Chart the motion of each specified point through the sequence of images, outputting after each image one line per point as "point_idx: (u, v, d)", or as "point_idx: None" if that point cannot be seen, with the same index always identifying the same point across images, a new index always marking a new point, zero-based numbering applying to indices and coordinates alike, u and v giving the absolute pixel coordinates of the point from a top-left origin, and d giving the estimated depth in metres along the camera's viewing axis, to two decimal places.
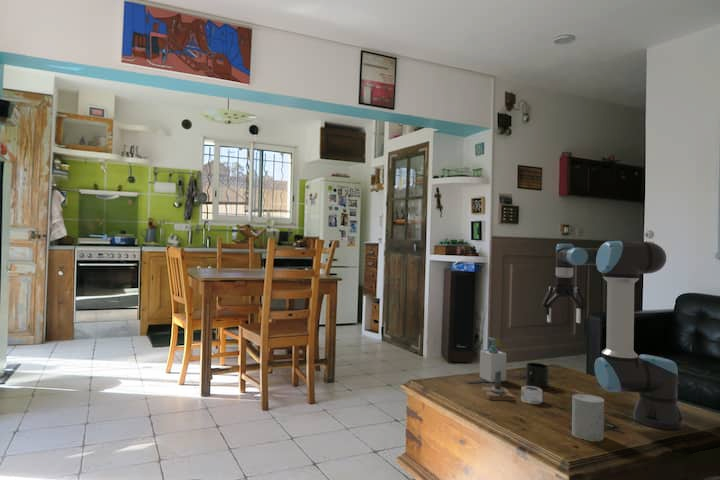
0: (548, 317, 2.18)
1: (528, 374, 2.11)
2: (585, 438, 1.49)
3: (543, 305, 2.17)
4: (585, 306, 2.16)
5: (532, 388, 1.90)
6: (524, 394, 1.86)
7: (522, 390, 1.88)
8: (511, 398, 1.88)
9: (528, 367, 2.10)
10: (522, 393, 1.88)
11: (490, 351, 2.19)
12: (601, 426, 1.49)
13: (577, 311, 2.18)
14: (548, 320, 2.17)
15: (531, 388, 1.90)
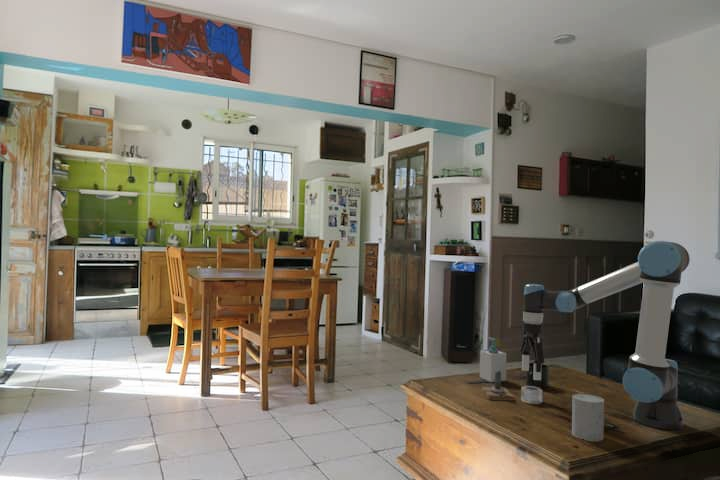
0: None
1: (528, 374, 2.11)
2: (585, 438, 1.49)
3: (520, 350, 1.99)
4: (537, 361, 1.79)
5: (532, 388, 1.90)
6: (524, 394, 1.86)
7: (522, 390, 1.88)
8: (511, 398, 1.88)
9: None
10: (522, 393, 1.88)
11: (490, 351, 2.19)
12: (601, 426, 1.49)
13: None
14: None
15: (531, 388, 1.90)
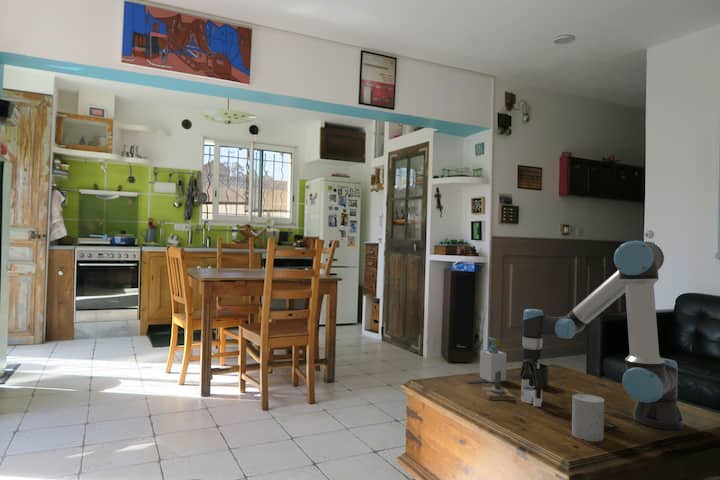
0: None
1: None
2: (585, 438, 1.49)
3: (520, 374, 1.98)
4: (536, 387, 1.79)
5: (532, 388, 1.90)
6: (524, 394, 1.86)
7: (522, 390, 1.88)
8: (511, 398, 1.88)
9: None
10: (522, 393, 1.88)
11: (490, 351, 2.19)
12: (601, 426, 1.49)
13: None
14: None
15: (531, 388, 1.90)
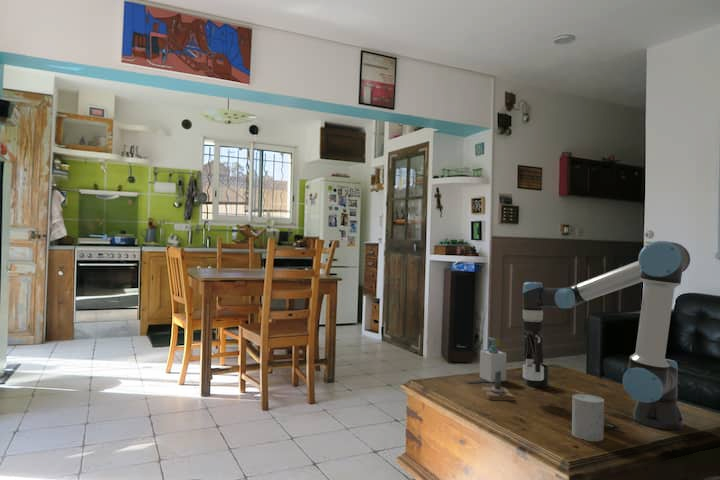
0: None
1: None
2: (585, 438, 1.49)
3: None
4: (535, 361, 1.82)
5: None
6: (526, 371, 1.86)
7: (523, 367, 1.88)
8: (511, 398, 1.88)
9: None
10: (524, 370, 1.88)
11: (490, 351, 2.19)
12: (601, 426, 1.49)
13: None
14: None
15: (532, 366, 1.90)
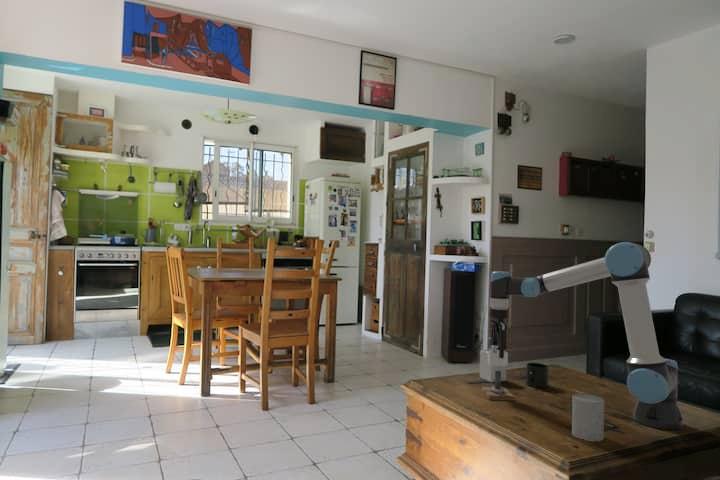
0: None
1: (528, 374, 2.11)
2: (585, 438, 1.49)
3: (490, 341, 2.02)
4: (499, 347, 1.88)
5: None
6: (490, 357, 1.93)
7: (489, 353, 1.95)
8: (511, 398, 1.88)
9: (528, 367, 2.10)
10: (488, 356, 1.95)
11: None
12: (601, 426, 1.49)
13: None
14: None
15: None
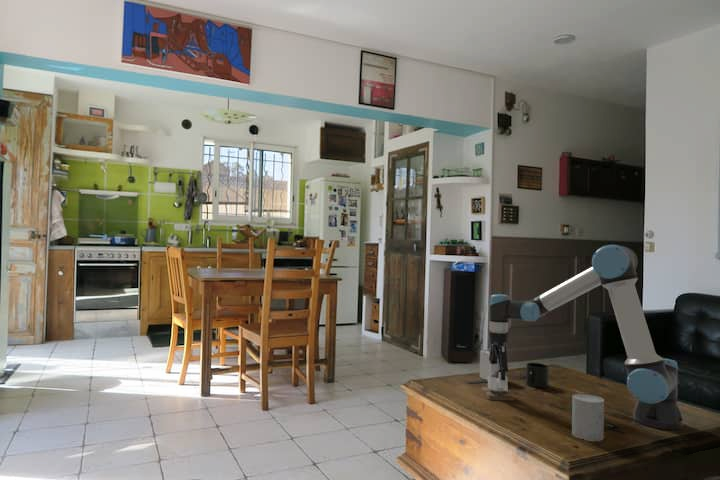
0: None
1: (528, 374, 2.11)
2: (585, 438, 1.49)
3: None
4: (501, 369, 1.86)
5: None
6: (490, 381, 1.93)
7: (488, 378, 1.94)
8: (511, 398, 1.88)
9: (528, 367, 2.10)
10: (488, 380, 1.94)
11: None
12: (601, 426, 1.49)
13: None
14: None
15: None
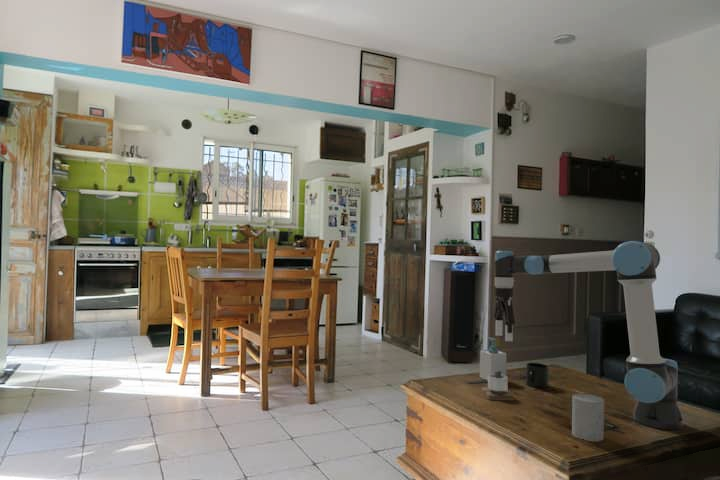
0: None
1: (528, 374, 2.11)
2: (585, 438, 1.49)
3: None
4: (508, 322, 1.87)
5: None
6: (490, 381, 1.93)
7: (488, 378, 1.94)
8: (511, 398, 1.88)
9: (528, 367, 2.10)
10: (488, 380, 1.94)
11: (490, 351, 2.19)
12: (601, 426, 1.49)
13: None
14: None
15: None
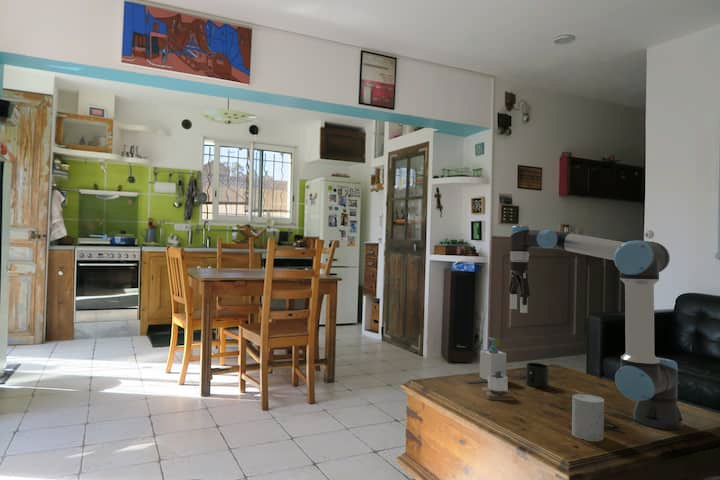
0: None
1: (528, 374, 2.11)
2: (585, 438, 1.49)
3: None
4: (523, 294, 1.92)
5: None
6: (490, 381, 1.93)
7: (488, 378, 1.94)
8: (511, 398, 1.88)
9: (528, 367, 2.10)
10: (488, 380, 1.94)
11: (490, 351, 2.19)
12: (601, 426, 1.49)
13: None
14: None
15: None
